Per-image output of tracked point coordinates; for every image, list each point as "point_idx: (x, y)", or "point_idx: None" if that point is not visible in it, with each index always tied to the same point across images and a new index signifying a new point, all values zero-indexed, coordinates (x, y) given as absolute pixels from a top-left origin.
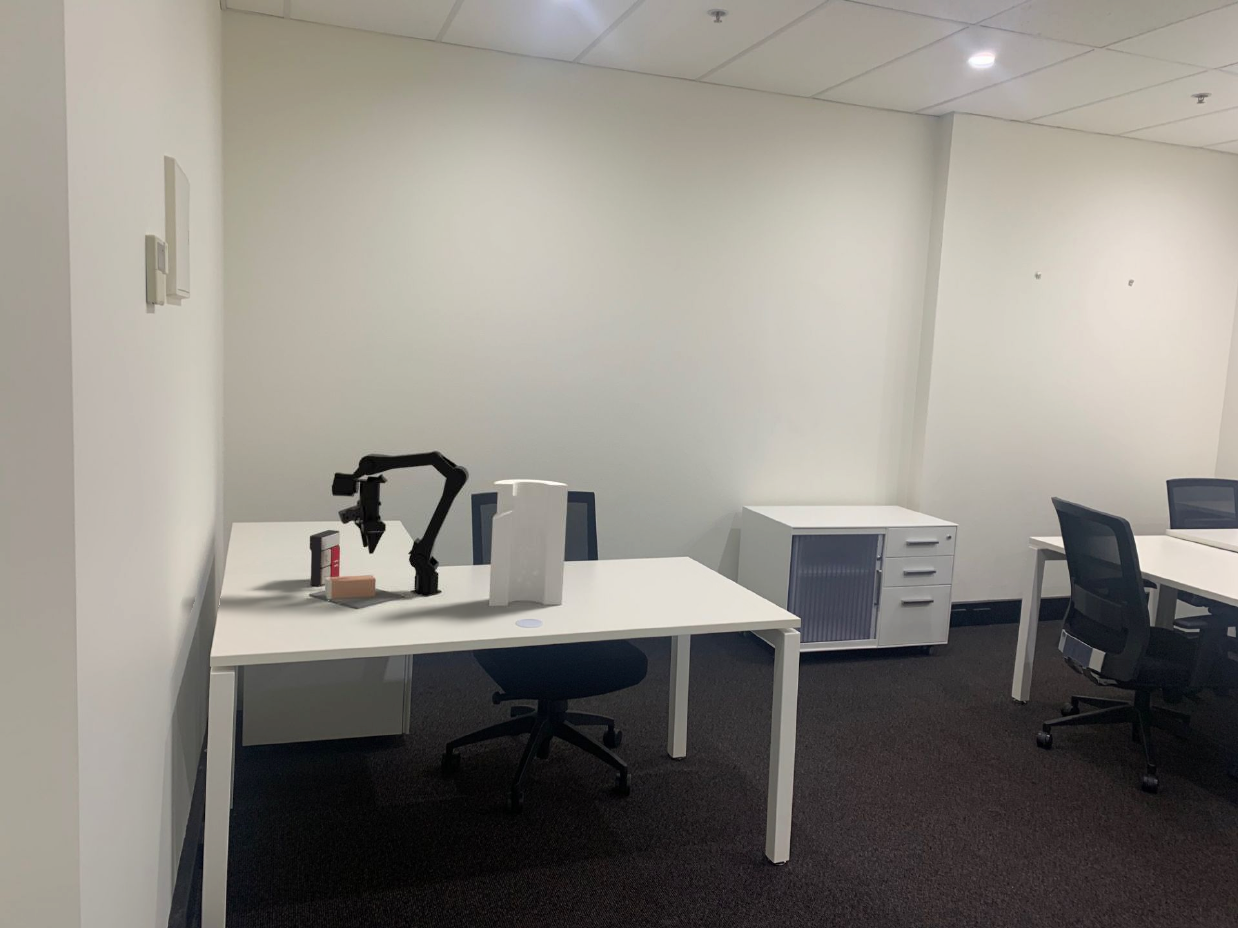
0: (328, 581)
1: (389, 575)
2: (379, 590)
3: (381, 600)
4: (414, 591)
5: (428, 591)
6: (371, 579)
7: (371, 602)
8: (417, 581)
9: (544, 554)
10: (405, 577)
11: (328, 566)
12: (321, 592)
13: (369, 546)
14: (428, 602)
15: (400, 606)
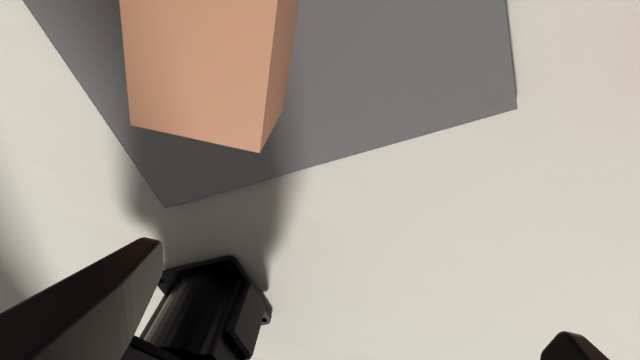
0: None
1: (570, 309)
2: (296, 155)
3: (88, 80)
4: (216, 265)
5: (167, 296)
6: (128, 95)
7: (50, 9)
8: (192, 308)
9: None
10: (488, 336)
11: None
12: None
13: (25, 309)
14: (70, 242)
15: (10, 126)
